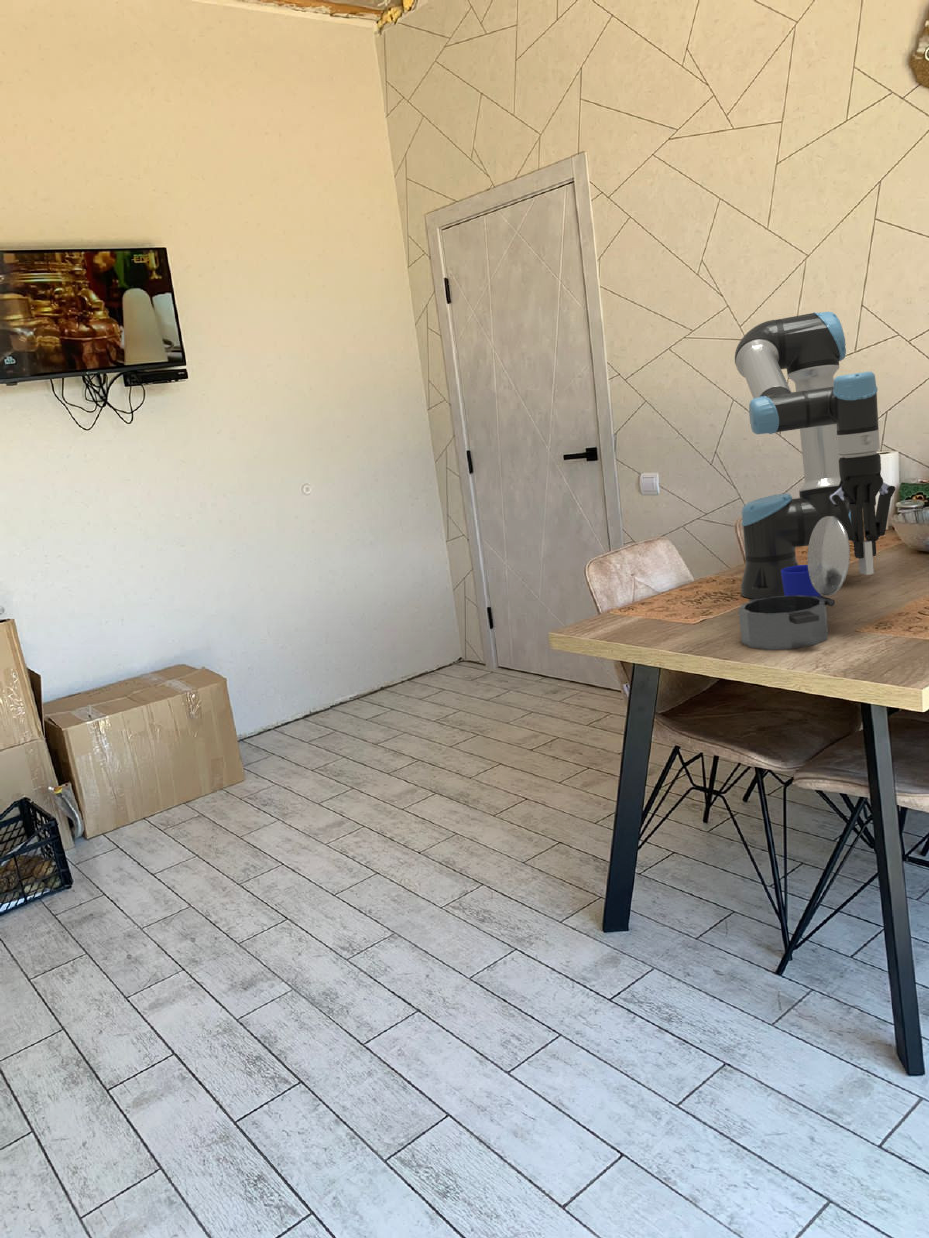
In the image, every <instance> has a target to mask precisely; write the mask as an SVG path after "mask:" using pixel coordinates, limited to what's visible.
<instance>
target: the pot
mask: <svg viewBox="0 0 929 1238" xmlns="http://www.w3.org/2000/svg"><path fill="white" fill-rule="evenodd" d="M835 604H836V601H835V600H834V599H833V598H829V597H828V596H827V597H826V596H825V595H819V596H817V597H816V596H803V595H789V596H774V597H770V596H768V597H762V598H756V599H753V598H749V600H748V602H744V603H742V604H741V605H740V607H738V615H739V616H738V617H739V625H740V637H741V644H743V645H745V646H746V647H749V648H752V649H760V650H767V651H771V650H773V651H774V650H794V649H795V650H796V649H801V648H807V647H813V646H815V645H817V644H820V643H823V642H825V641H827V640H828V637H829V630H828V617H827V616H828V615H827V606H830V607H834V605H835Z"/></svg>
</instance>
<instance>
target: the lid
mask: <svg viewBox="0 0 929 1238" xmlns="http://www.w3.org/2000/svg"><path fill="white" fill-rule="evenodd" d="M850 547H851V546H850V540H849V539H848V534H847V531H846V529H845V526H844V525H843V523H842V522H841V520H839V519H838V518H837V517H834V516H826V517H823V518H822V519H821V520H819V522H818V523H817V524H816V526H815V527H814V529H813V532H812V534H811V537H810V541H809V546H807V548H808V549H807V558H806V559H807V565H808V572H809V576H810V580H811V583H812V585H813V587H814V588H815V590H816V591H817V592H818V593H819V594H821V596H833V595H835V594H837V593H838V591H840V589H841V588H842V587H843V584H844V583H845V581H846V578H847V575H848V571H849V566H850V559H851V556H850V555H851V551H850Z"/></svg>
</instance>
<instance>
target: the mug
mask: <svg viewBox="0 0 929 1238" xmlns="http://www.w3.org/2000/svg"><path fill="white" fill-rule="evenodd" d="M781 576H782V582H783V588H784V594H785V596H789V595H803V596H816V597H817V596H819V595H821V594H819V593H818V592H817V591H816V590H815V588H814V587H813V585H812V583H811V580H810V576H809V572H808V564H800V565H799V564H798V566H791V567H787V568H784V569H782V570H781ZM821 596H822V595H821Z"/></svg>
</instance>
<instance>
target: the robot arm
mask: <svg viewBox="0 0 929 1238" xmlns="http://www.w3.org/2000/svg"><path fill="white" fill-rule="evenodd" d="M846 344H847V343H846V338H845V333H844V330H843V326H842V323H841V320H840V319H839V317H838V315H837V314H836V313H834V312H832V311H821V312H811V313H805V314H801V315H796V316H795V315H794V316H791V317H790V316H789V317H784V318H778V319H772V320H767V321H763V322H761V323H759V324H757V325H756V326H754V327H752V328H751V329H750V330H749V331H748V332H747V333H746V334H745V335H744V336H743V337H742V338H741V339H740V341H739V343H738V344H737V346H736V349H735V352H734V364H735V366H736V370H737V371H738V373H739V374H740V376H742V377H743V378H744V379H745V381H746V383H747V386H748V388H749V391H750V394H751V395H752V399H751V400H750V401H749V405H748V413H749V422H750V423H749V424H750V428H751V431H752V433H753V434H756V435H763V434H768V435H769V434H770V435H773V434H776V433H781V432H789V431H796V430H799V436H800V446H801V457H802V465H803V475H804V483H803V485H802V486H801V488H799V491H798V492H799V493H798V495H799V497H798V498H793V497H792V495H791V494H790V493H788V492H786V493H780V494H779V493H778V494H772V495H769V496H764V497H760V498H758V499H757V498H756V499H754V500H752V501H749V502H748V503H746V504H745V505H743V507H742V509H741V527H742V530H743V531H742V532H743V533H742V534H743V542H744V543H743V544H744V555H745V567H744V570H743V576H742V579H741V584H740V594H741V596H742V597H744V598H745V599H747V598H748V599H756V598H762V597H768V596H770V597H774V596H785V594H784V588H783V582H782V576H781V570H782V569H784V568H787V567H791V566H798V565H799V563H798V561H797V555H796V553H797V552H796V548H801V547H808V546H809V541H810V537H811V534H812V532H813V529H814V527H815V526H816V524H817V523H818V522H819V520H821V519H822V518H823V517H826V516H834V517H837V518H838V519H839V520H841V522H842V523H843V525H844V526H845V529H846V531H847V534H848V539H849V542H850V541H851V542H852V543H853V551H854V552H853V553H854V554H853V555H854V557H855V559H858V567H859V574H862V575H865V576H869V575H874V557H876V556H877V541H878V540H879V538H880V537H882V536H885V535H886V529H887V523H888V518H889V514H890V506H891V500H892V497H893V495H894V494H895V491H896V486H895V485H889V484H887V483H886V482H884V479H883V477H882V474H881V472H882V462H881V454H880V453H877V452H878V451H879V450H880V449H881V446H880V445H881V443H880V429H879V411H878V386H877V382H876V375H875V373H874V372H872V371H863V372H856V373H855V372H854V373H850V374H844V375H843V374H842V375H838V376H836V377H835V378H834V376H835V374H836V373H837V371H839V369H840V362H841V361H843V360H845V358H846V355H847V349H846ZM782 370H786V374H787V378H788V379H790V380H791V381H792V382H794V384H795V385H794V386H795V391H793V392H792V391H791V388H790V385H789V383H788V382H787V379H786V377H785V375H784V373H783V371H782ZM878 494H879V496H878V498H876V497H877V495H878Z"/></svg>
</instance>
